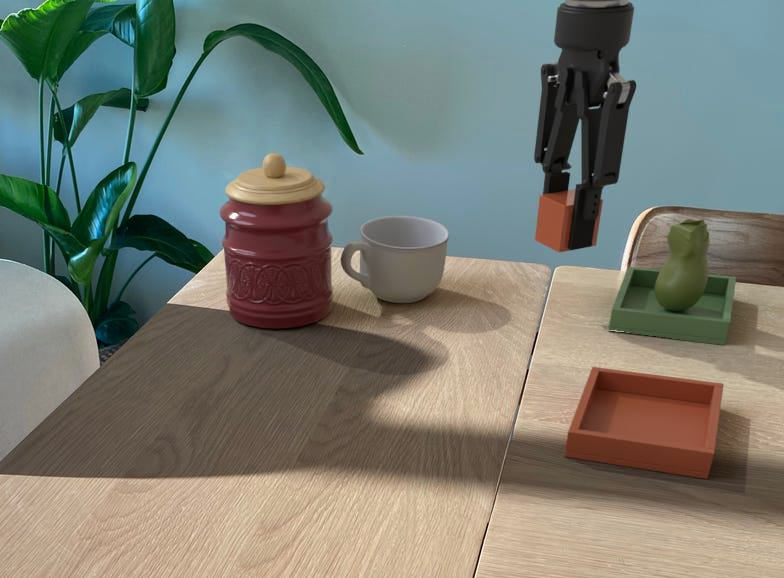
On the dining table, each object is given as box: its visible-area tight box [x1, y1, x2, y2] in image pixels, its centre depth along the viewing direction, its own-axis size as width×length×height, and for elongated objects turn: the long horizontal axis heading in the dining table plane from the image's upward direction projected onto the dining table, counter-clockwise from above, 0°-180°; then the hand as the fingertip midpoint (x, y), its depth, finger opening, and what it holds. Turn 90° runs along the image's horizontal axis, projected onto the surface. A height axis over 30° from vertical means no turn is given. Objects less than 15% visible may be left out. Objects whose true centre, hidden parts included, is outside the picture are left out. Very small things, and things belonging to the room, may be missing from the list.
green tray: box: [608, 266, 737, 346], centre depth 114 cm, size 15×13×3 cm
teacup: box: [340, 215, 450, 304], centre depth 119 cm, size 14×11×8 cm
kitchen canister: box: [219, 152, 334, 330], centre depth 113 cm, size 13×13×18 cm
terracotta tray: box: [563, 366, 724, 480], centre depth 93 cm, size 15×13×3 cm
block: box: [534, 188, 604, 253], centre depth 111 cm, size 5×5×5 cm
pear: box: [655, 218, 710, 311], centre depth 111 cm, size 6×5×10 cm
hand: (565, 239), depth 112 cm, fingers closed on block, 5 cm apart
